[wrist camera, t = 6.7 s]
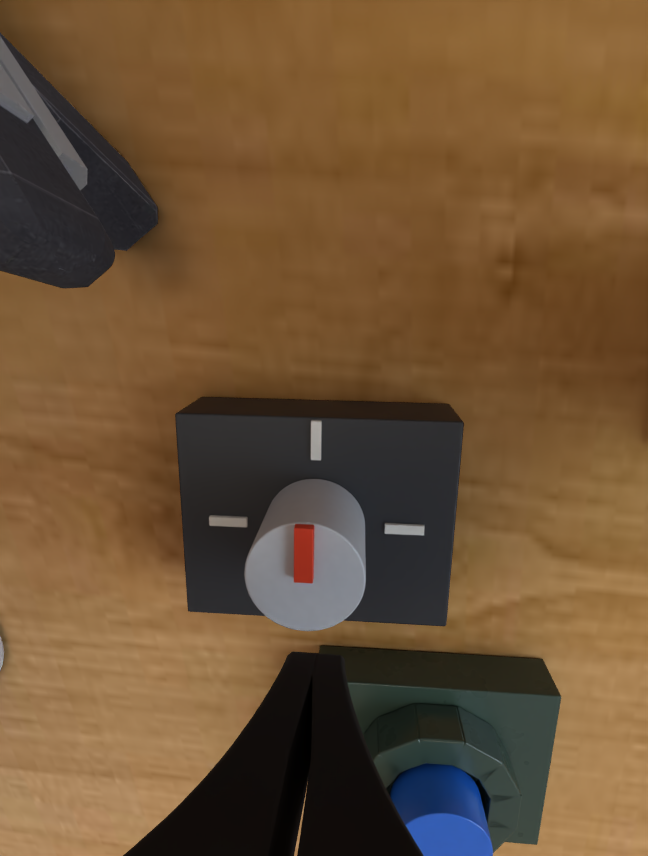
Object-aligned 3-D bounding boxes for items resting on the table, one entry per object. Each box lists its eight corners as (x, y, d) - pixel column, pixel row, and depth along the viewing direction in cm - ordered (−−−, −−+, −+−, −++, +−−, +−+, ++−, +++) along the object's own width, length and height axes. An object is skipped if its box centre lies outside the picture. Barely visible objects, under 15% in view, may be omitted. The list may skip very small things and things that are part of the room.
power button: (484, 765, 20) (497, 818, 18) (476, 834, 21) (488, 892, 19) (392, 758, 20) (395, 809, 18) (387, 827, 21) (390, 883, 19)
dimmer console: (449, 403, 20) (465, 423, 17) (435, 583, 22) (447, 630, 19) (200, 396, 20) (172, 413, 17) (209, 571, 22) (185, 614, 19)
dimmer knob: (363, 571, 18) (363, 642, 15) (266, 566, 19) (243, 634, 15) (367, 480, 18) (368, 530, 14) (265, 475, 18) (239, 524, 14)
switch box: (542, 658, 22) (580, 734, 18) (522, 797, 24) (552, 892, 20) (320, 644, 23) (311, 715, 19) (318, 781, 25) (310, 869, 21)
